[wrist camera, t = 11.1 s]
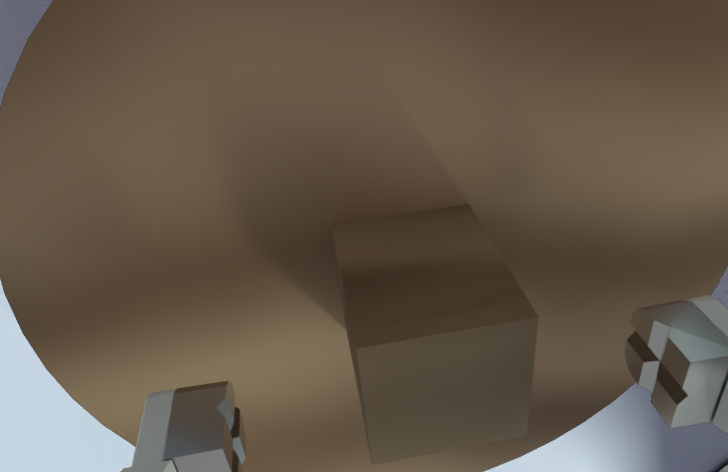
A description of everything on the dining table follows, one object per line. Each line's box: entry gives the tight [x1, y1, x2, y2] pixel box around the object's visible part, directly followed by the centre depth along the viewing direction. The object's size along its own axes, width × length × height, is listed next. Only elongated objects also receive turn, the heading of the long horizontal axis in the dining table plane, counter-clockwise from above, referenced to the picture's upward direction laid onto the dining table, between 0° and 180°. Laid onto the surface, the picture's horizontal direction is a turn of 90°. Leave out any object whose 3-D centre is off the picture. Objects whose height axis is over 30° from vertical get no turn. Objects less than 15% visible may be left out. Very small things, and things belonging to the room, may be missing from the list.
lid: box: [0, 0, 728, 472], centre depth 13 cm, size 18×18×5 cm
